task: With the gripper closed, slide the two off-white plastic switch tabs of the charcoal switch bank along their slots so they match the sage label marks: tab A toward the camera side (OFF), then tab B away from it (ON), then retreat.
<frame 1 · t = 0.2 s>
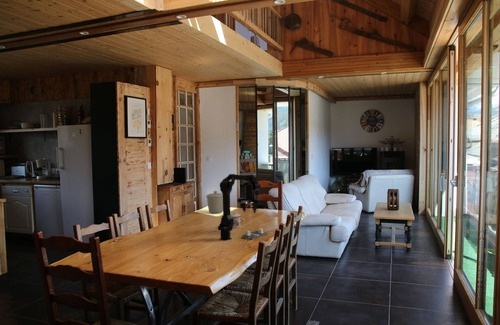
hand: (249, 212, 284), 14 cm above the table, fingers open, 9 cm apart
canister: (216, 212, 367), on the table
tab A: (247, 233, 267), point 3 cm above the table, slide at 4.0 cm
switch bank: (254, 236, 270), on the table
teacup with lid: (237, 227, 301), on the table
tab B: (260, 231, 272), point 3 cm above the table, slide at 0.0 cm
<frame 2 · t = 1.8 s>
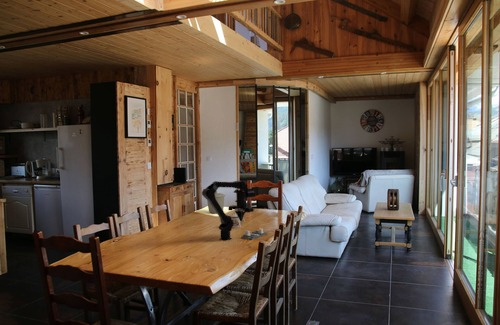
hand: (241, 221, 270), 11 cm above the table, fingers closed
nothing on the table moved.
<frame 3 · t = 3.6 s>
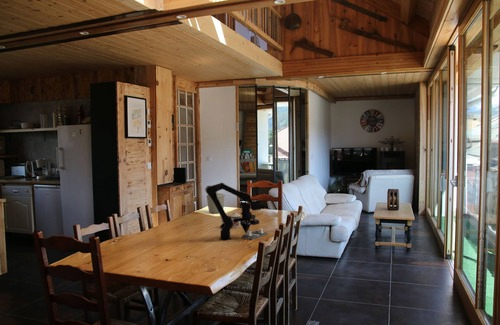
hand: (246, 233, 268), 3 cm above the table, fingers closed
tab A: (249, 233, 266), point 3 cm above the table, slide at 2.8 cm, touching gripper
everything else where it was.
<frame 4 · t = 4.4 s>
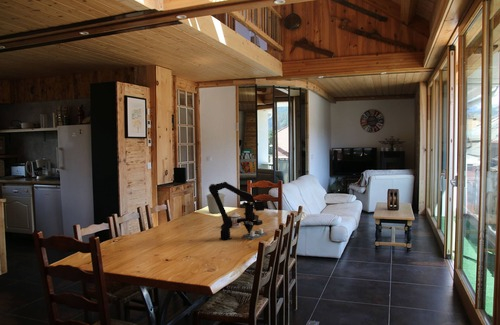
hand: (249, 233, 266), 3 cm above the table, fingers closed
tab A: (252, 234, 264), point 3 cm above the table, slide at 0.0 cm, touching gripper
everything else where it was.
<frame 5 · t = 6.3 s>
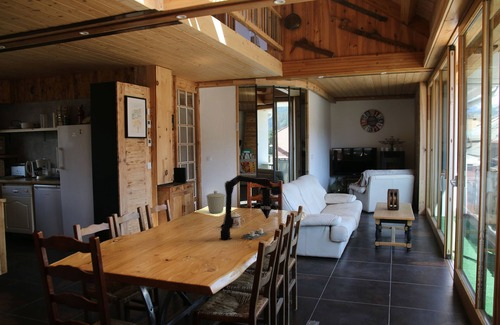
hand: (267, 218, 268), 13 cm above the table, fingers closed
tab A: (252, 234, 264), point 3 cm above the table, slide at 0.0 cm
everything else where it was.
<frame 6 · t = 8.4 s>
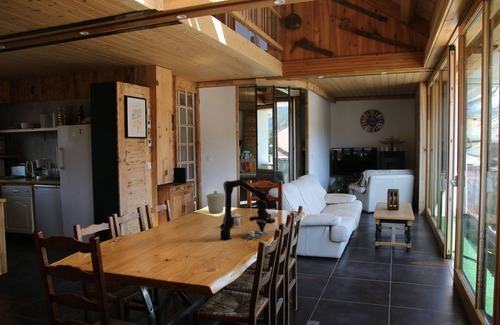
hand: (262, 231, 271), 3 cm above the table, fingers closed
tab B: (259, 230, 273), point 3 cm above the table, slide at 1.1 cm, touching gripper
everything else where it was.
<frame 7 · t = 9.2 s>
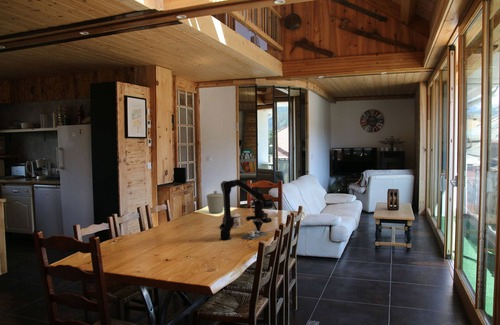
hand: (259, 231, 273), 3 cm above the table, fingers closed
tab B: (256, 230, 275), point 3 cm above the table, slide at 4.0 cm, touching gripper
everything else where it was.
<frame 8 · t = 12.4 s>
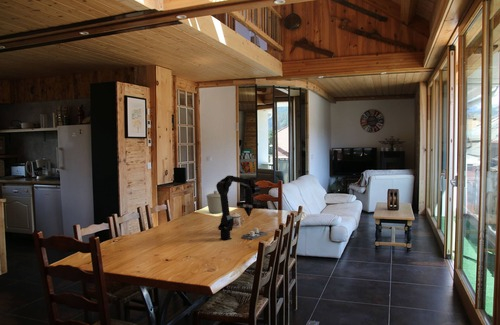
hand: (249, 216, 281), 12 cm above the table, fingers closed
tab B: (256, 230, 275), point 3 cm above the table, slide at 4.0 cm
everything else where it was.
at the end: tab A slide at 0.0 cm; tab B slide at 4.0 cm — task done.
